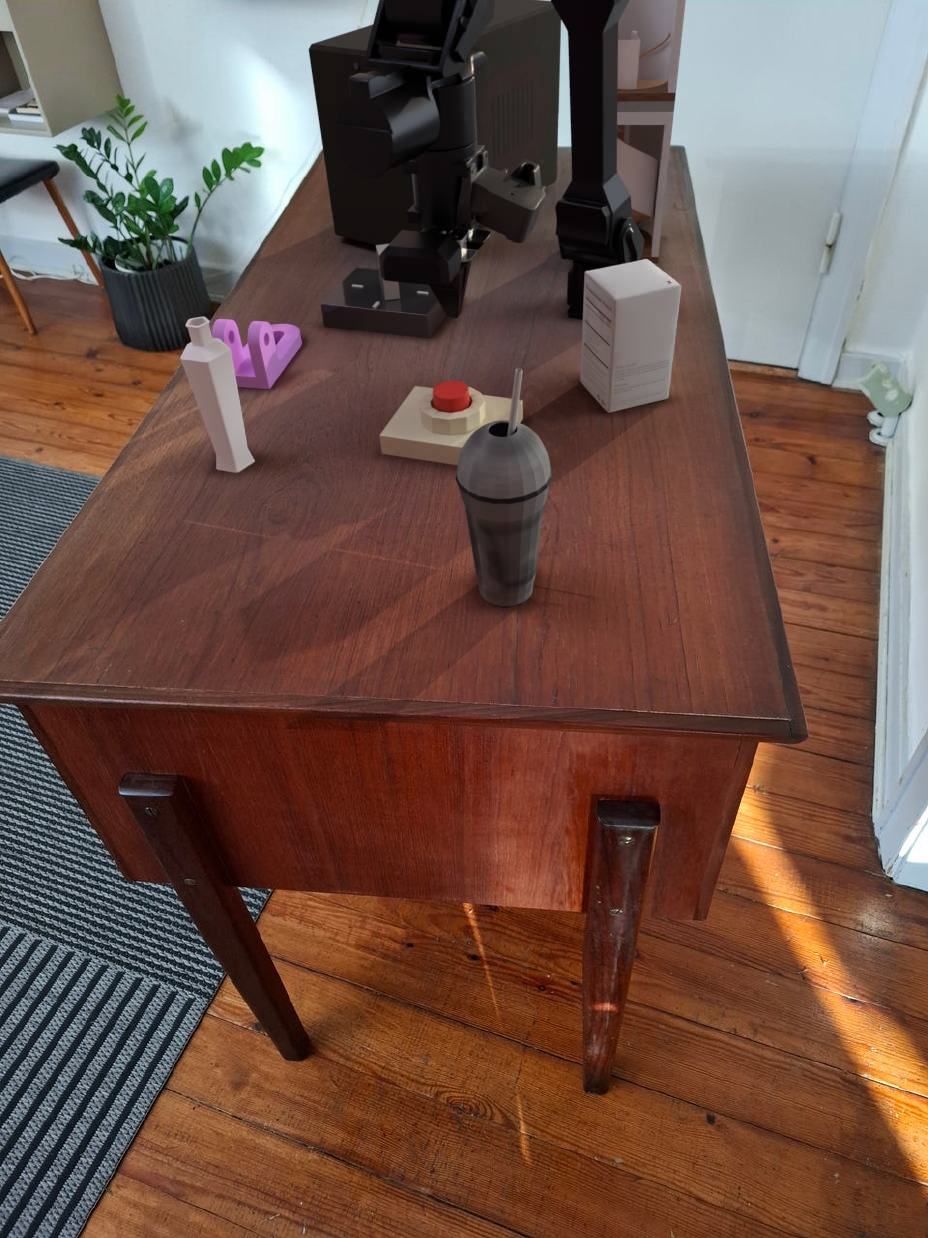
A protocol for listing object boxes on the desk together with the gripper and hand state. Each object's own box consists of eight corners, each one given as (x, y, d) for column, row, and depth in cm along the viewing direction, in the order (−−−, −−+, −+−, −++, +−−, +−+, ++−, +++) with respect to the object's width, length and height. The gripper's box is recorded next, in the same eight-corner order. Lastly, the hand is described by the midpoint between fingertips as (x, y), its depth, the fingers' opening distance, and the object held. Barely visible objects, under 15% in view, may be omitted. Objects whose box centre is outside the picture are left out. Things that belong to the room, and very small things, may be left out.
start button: (474, 398, 90) (473, 382, 89) (462, 416, 88) (462, 401, 87) (440, 393, 91) (439, 378, 90) (428, 411, 89) (427, 396, 88)
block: (522, 418, 94) (522, 384, 91) (494, 471, 87) (493, 436, 84) (416, 403, 97) (413, 370, 94) (381, 453, 90) (377, 419, 88)
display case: (581, 237, 128) (595, -69, 104) (657, 238, 126) (689, -72, 102) (576, 270, 120) (590, -53, 96) (656, 272, 118) (691, -56, 94)
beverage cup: (459, 564, 77) (445, 350, 64) (542, 556, 78) (546, 342, 64) (466, 622, 72) (452, 403, 58) (556, 613, 72) (563, 393, 59)
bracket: (269, 389, 101) (256, 331, 96) (223, 385, 102) (209, 328, 97) (308, 335, 110) (298, 280, 105) (266, 333, 111) (254, 278, 106)
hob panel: (458, 299, 115) (456, 275, 113) (428, 338, 108) (426, 313, 106) (359, 289, 119) (356, 265, 117) (324, 326, 112) (319, 302, 109)
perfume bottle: (266, 452, 92) (232, 312, 81) (245, 476, 89) (207, 334, 78) (227, 446, 93) (189, 307, 82) (205, 469, 90) (163, 329, 79)
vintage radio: (467, 164, 153) (460, -12, 136) (565, 183, 144) (571, -3, 127) (319, 239, 132) (288, 42, 115) (422, 266, 123) (406, 58, 106)
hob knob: (379, 280, 113) (375, 242, 110) (393, 278, 113) (389, 241, 110) (385, 300, 109) (381, 262, 106) (400, 298, 109) (396, 260, 106)
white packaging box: (638, 368, 100) (649, 256, 91) (669, 400, 95) (684, 284, 86) (577, 382, 99) (582, 269, 90) (606, 414, 94) (614, 298, 85)
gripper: (502, 184, 67) (506, 373, 78) (563, 110, 79) (559, 282, 90) (366, 176, 69) (388, 359, 80) (445, 105, 82) (455, 272, 93)
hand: (454, 316), depth 86 cm, fingers closed
